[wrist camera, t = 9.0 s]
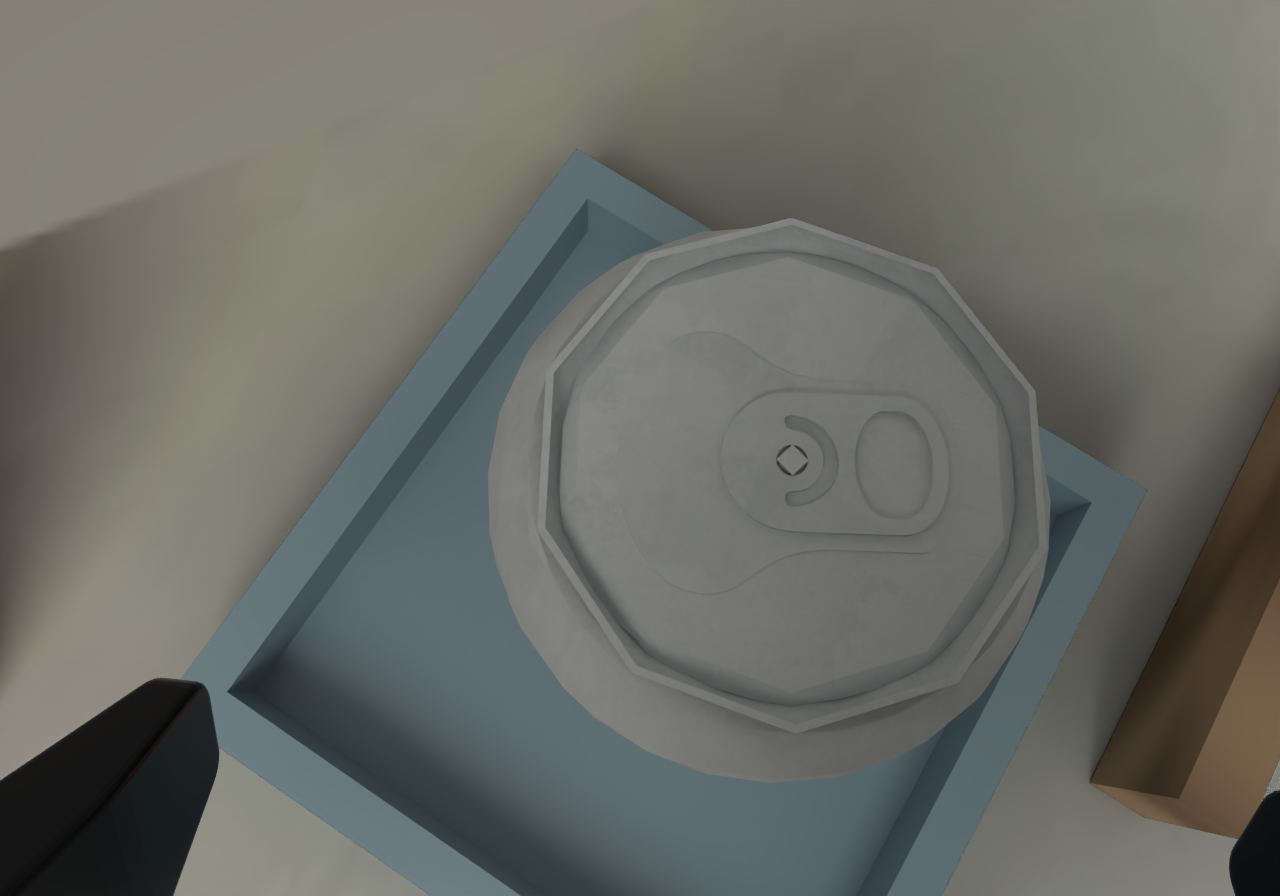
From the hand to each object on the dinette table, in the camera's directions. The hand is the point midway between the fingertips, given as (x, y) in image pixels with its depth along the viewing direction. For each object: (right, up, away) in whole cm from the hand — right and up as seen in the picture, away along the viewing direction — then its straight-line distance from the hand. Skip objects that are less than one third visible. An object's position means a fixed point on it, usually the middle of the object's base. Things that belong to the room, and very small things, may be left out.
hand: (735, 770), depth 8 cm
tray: (0, 0, +11) cm, 11 cm away
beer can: (0, 0, +11) cm, 11 cm away
